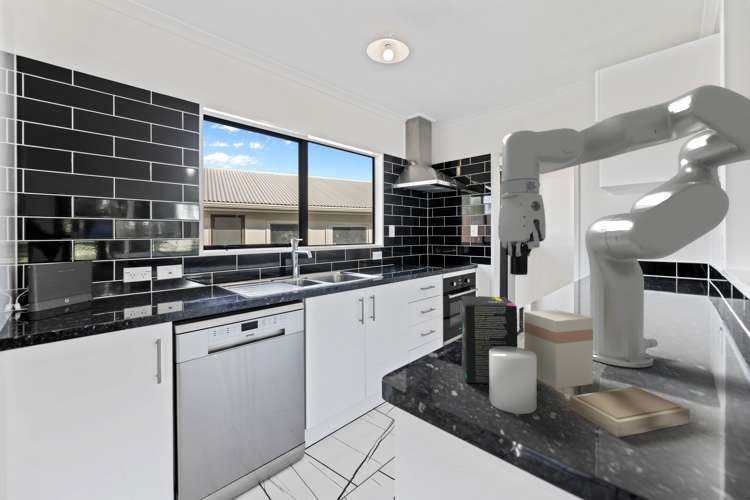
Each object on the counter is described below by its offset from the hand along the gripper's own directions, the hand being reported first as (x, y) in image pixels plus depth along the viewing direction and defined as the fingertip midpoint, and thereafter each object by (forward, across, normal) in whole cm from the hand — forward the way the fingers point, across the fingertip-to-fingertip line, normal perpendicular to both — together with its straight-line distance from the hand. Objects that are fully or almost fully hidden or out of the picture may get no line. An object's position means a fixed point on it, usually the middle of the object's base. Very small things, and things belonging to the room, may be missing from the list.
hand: (518, 274), depth 70 cm
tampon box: (+19, -5, +11) cm, 23 cm away
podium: (+19, -24, 0) cm, 31 cm away
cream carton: (+19, -10, -1) cm, 21 cm away
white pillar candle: (+19, -16, +14) cm, 28 cm away
